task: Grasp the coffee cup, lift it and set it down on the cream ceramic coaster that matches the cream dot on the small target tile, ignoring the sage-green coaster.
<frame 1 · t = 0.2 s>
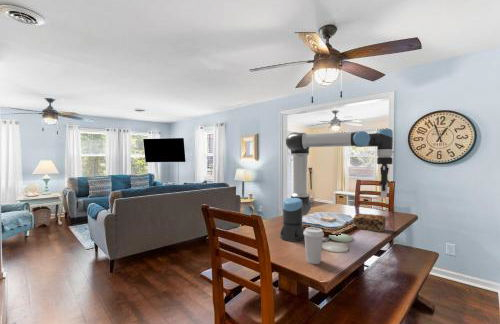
hand: (384, 195, 138), 28 cm above the table, fingers open, 13 cm apart
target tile: (322, 239, 148), on the table
coffee cup: (313, 261, 118), on the table
coaster sage: (340, 238, 150), on the table
coaster cream: (334, 247, 135), on the table
bread: (369, 229, 170), on the table
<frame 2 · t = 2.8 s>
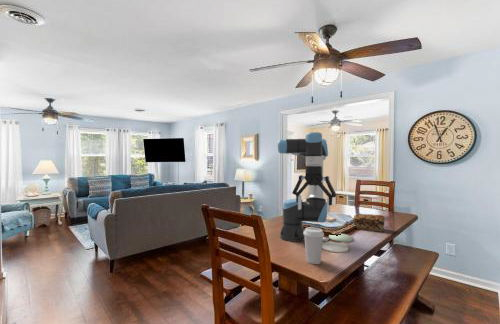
hand: (313, 210, 117), 24 cm above the table, fingers open, 13 cm apart
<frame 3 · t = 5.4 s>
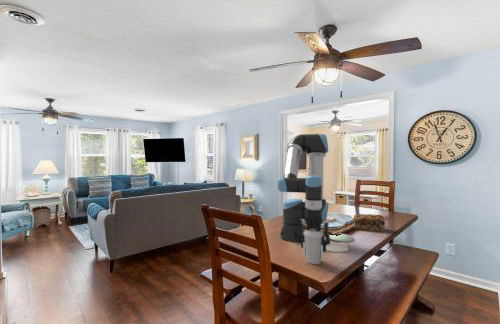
hand: (313, 256, 117), 2 cm above the table, fingers closed on coffee cup, 8 cm apart
coffee cup: (313, 261, 118), on the table, touching gripper
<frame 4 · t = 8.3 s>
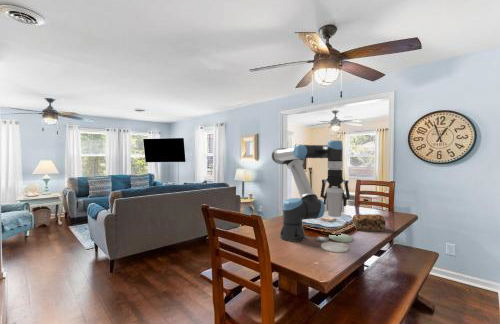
hand: (334, 211, 134), 20 cm above the table, fingers closed on coffee cup, 8 cm apart
coffee cup: (334, 215, 134), point 17 cm above the table, touching gripper
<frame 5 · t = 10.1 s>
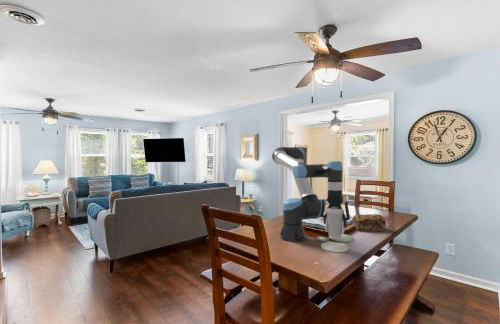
hand: (334, 231, 135), 9 cm above the table, fingers closed on coffee cup, 8 cm apart
coffee cup: (334, 235, 135), point 6 cm above the table, touching gripper
when the fingers open (4 cm above the table, at t = 11.5 s): coffee cup drops 1 cm, resting on coaster cream.
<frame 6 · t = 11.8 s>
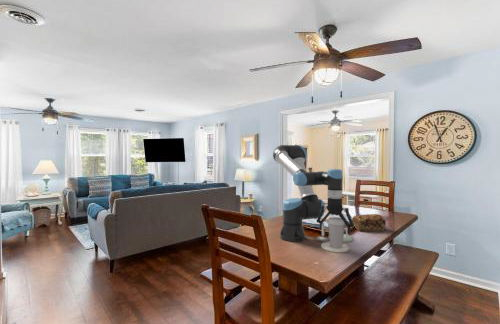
hand: (334, 237, 135), 6 cm above the table, fingers open, 12 cm apart
coffee cup: (336, 246, 134), point 1 cm above the table, touching coaster cream
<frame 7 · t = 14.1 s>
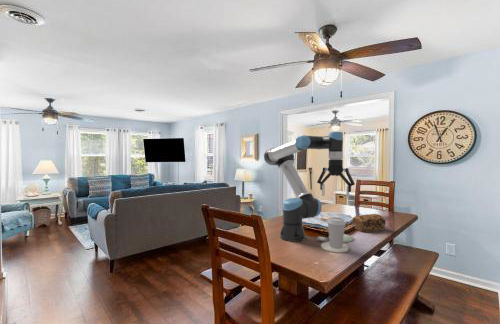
hand: (335, 196, 141), 27 cm above the table, fingers open, 13 cm apart
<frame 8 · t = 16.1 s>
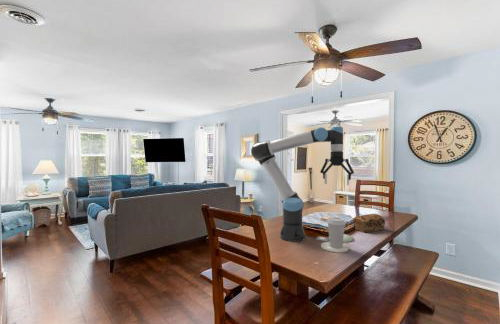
hand: (336, 184, 158), 32 cm above the table, fingers open, 13 cm apart
at the end: coffee cup 0.8 cm from the coaster cream (horizontally); coffee cup tilted 0°; the gripper is holding nothing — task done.
